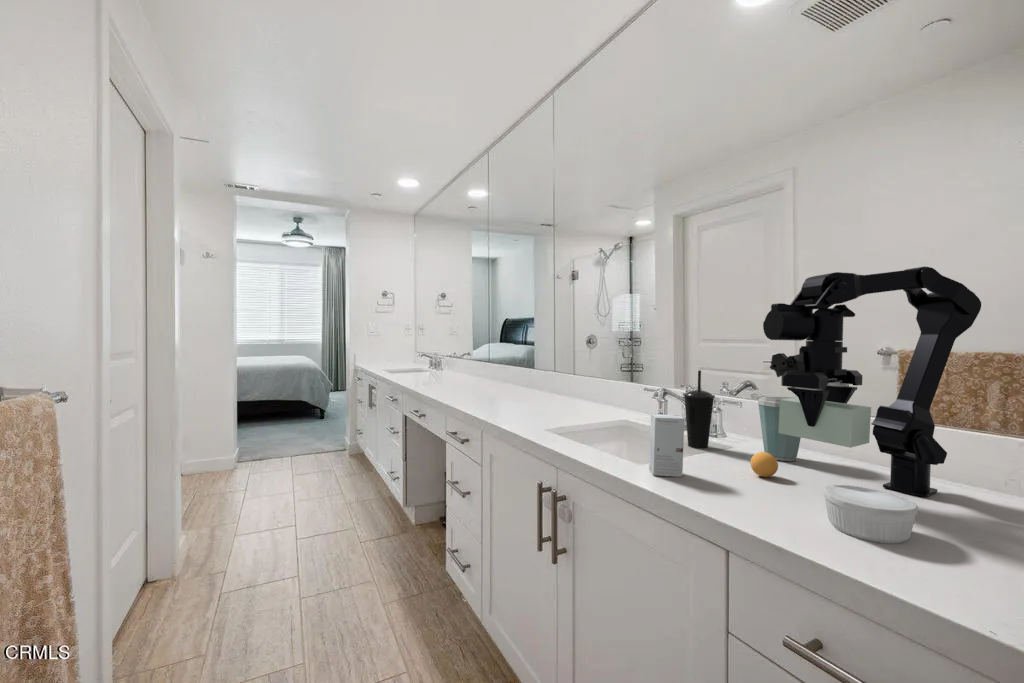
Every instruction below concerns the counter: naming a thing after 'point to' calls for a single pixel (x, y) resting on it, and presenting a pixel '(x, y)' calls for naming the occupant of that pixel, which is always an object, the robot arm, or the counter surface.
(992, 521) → the counter surface
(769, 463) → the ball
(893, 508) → the ramekin
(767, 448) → the disposable coffee cup
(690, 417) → the drinking cup
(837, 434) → the sage green rectangular block
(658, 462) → the skincare box
